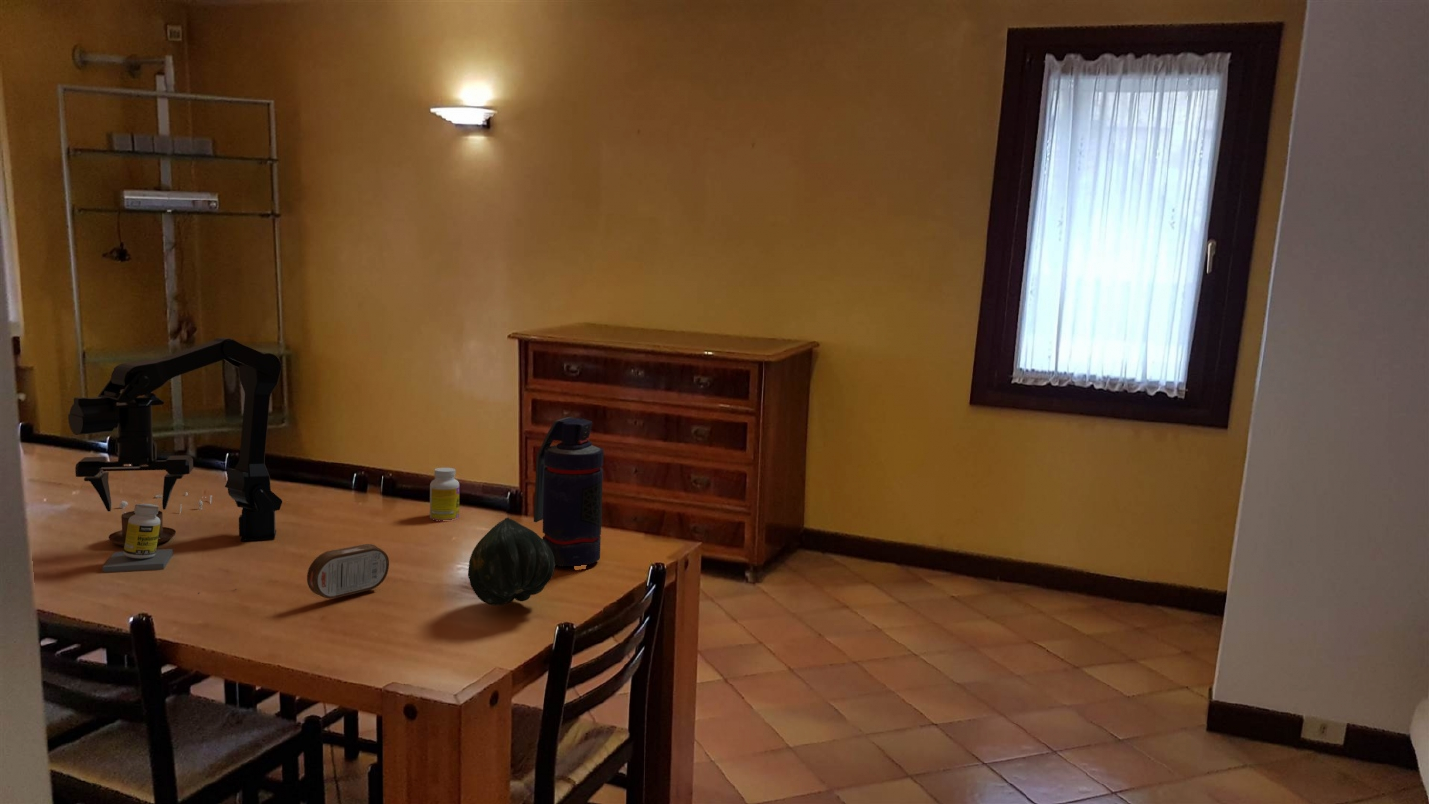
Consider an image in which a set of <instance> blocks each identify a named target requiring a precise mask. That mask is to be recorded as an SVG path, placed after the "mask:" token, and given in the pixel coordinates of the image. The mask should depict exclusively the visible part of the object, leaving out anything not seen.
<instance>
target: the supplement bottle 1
mask: <svg viewBox="0 0 1429 804" xmlns="http://www.w3.org/2000/svg"><path fill="white" fill-rule="evenodd" d="M159 508H160V507H159V505H157V504H151V503H136V504H135V505H134V509H133V511H134V513H135V515H133V516H131V517H130V518H129V521H128V527H127V533H126V540H125V546H123V551H124V555H125V556H128V557H131V558H151V557H153V556H155V554H156V550H157V548H158V547H157V546H158V544H157V542H158V539H159V538H158V535H159V529H160V519H159V518H158V517H156V515H157V514H158V511H159Z"/></svg>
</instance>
